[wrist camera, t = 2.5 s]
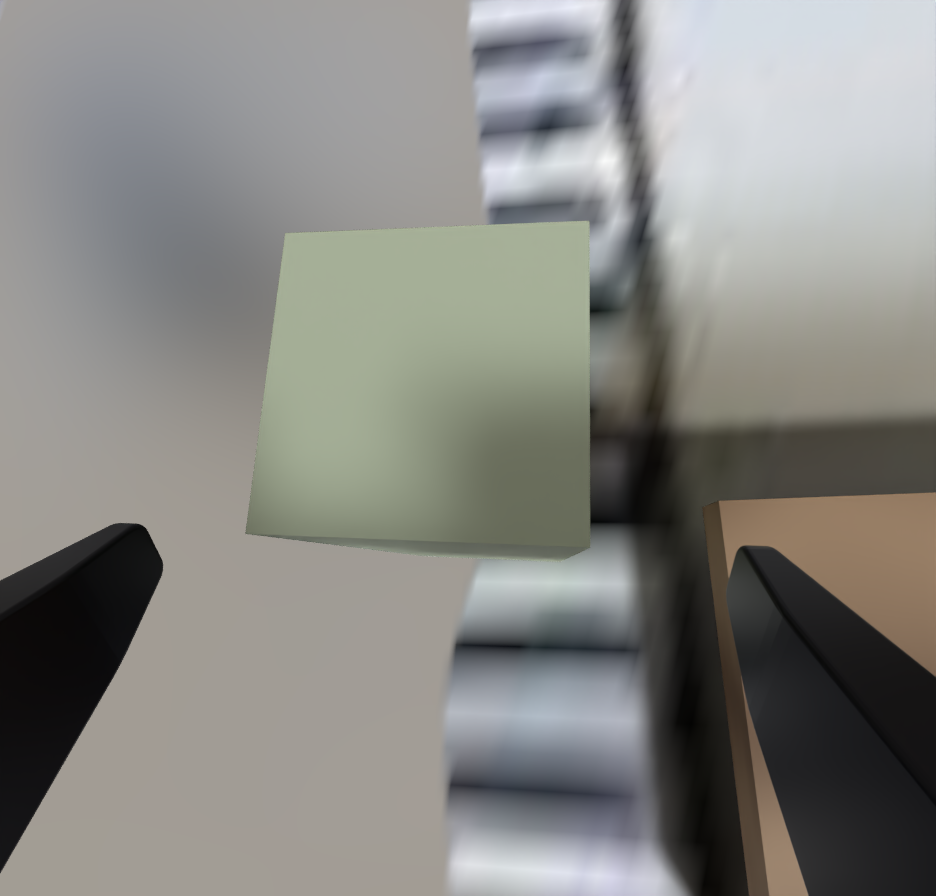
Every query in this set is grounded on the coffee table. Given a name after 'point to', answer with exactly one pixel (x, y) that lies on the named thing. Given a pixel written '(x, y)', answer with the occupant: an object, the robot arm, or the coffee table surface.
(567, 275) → the sage block
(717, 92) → the coffee table surface
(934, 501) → the tan square board
